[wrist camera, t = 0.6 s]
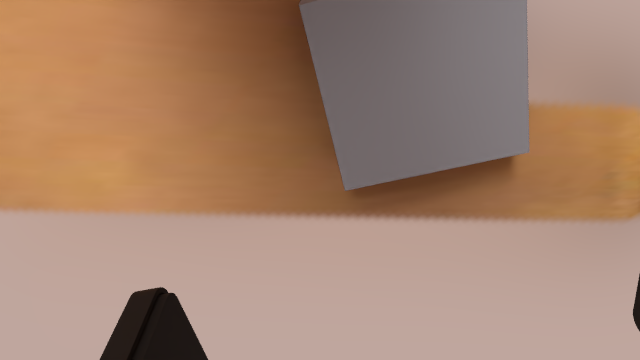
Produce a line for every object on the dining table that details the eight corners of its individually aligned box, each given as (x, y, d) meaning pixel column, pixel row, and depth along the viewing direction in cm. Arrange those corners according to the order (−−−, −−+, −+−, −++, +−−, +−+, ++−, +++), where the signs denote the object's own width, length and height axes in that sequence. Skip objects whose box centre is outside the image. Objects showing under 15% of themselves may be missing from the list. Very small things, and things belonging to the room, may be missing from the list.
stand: (300, -4, 32) (299, 5, 29) (502, -56, 31) (525, -54, 27) (342, 166, 39) (345, 190, 35) (509, 130, 37) (529, 152, 34)
